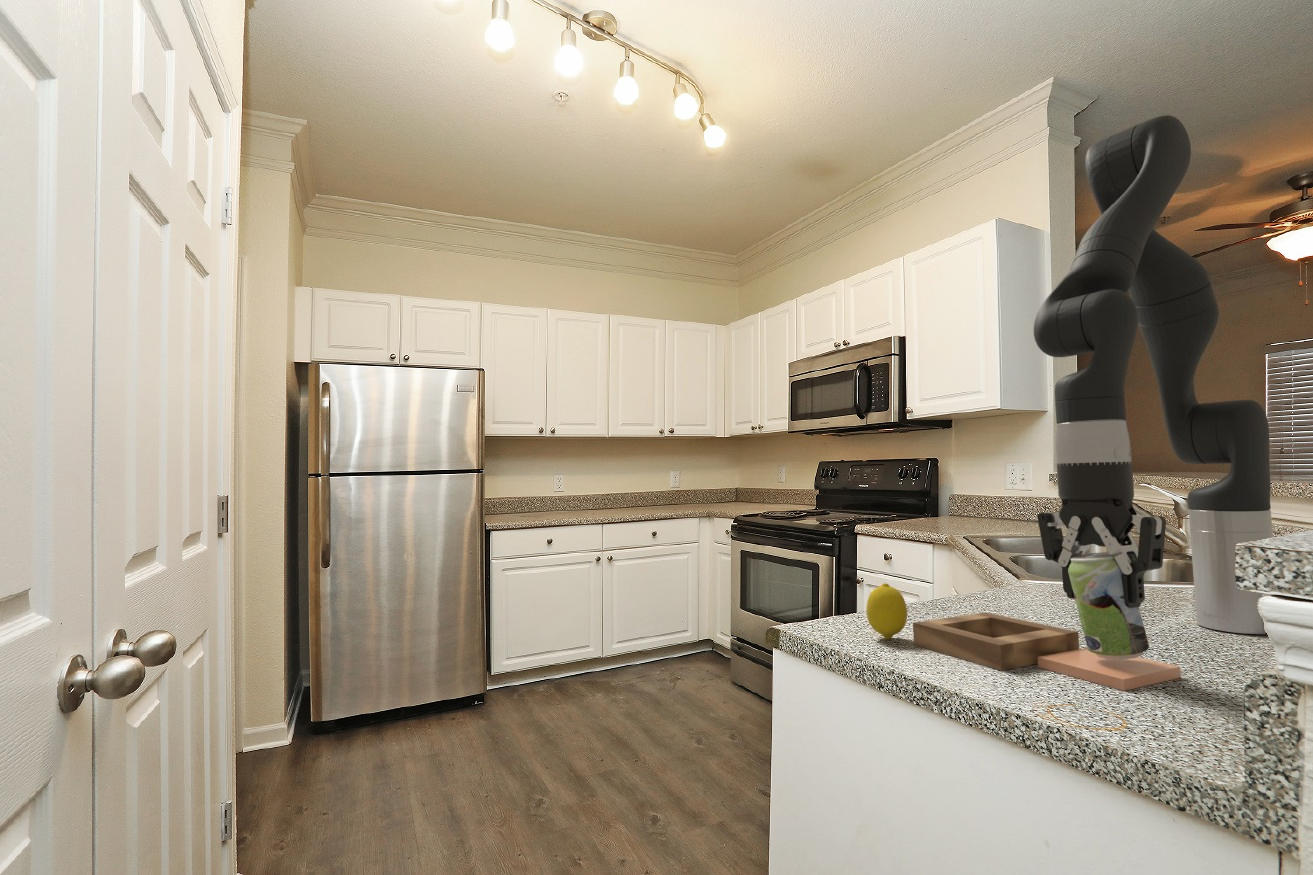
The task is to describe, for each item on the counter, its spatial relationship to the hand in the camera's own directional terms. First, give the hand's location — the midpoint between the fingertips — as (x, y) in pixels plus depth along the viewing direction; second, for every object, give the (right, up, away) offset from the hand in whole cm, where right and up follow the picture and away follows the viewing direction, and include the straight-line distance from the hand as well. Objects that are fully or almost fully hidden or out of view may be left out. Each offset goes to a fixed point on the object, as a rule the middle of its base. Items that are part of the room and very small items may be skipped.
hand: (1102, 601), depth 78 cm
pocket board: (-8, -9, +10) cm, 16 cm away
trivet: (0, -8, -1) cm, 8 cm away
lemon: (-19, -10, +17) cm, 28 cm away
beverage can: (0, -6, -1) cm, 6 cm away
